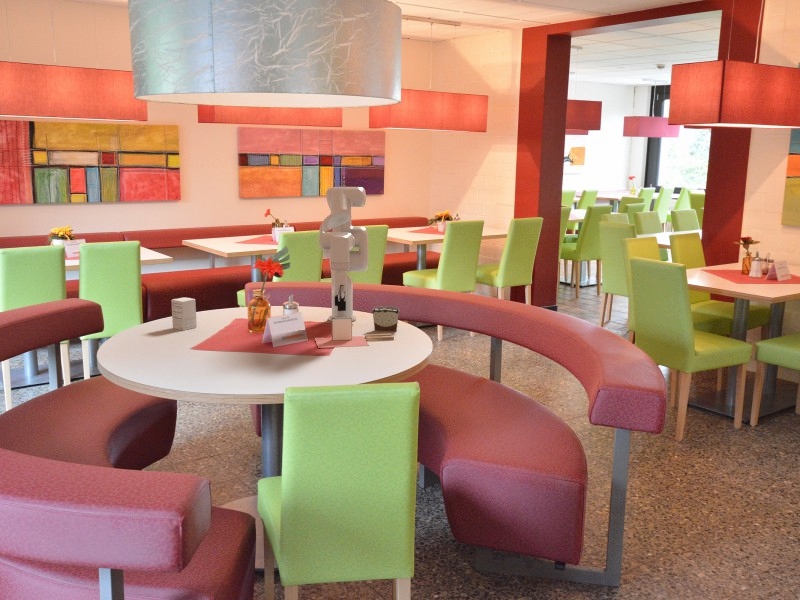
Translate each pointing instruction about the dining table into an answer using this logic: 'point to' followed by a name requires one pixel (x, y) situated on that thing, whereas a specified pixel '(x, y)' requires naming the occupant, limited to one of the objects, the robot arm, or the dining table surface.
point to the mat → (341, 342)
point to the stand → (379, 337)
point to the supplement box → (184, 313)
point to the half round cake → (385, 318)
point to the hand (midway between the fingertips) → (340, 308)
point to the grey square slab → (341, 329)
